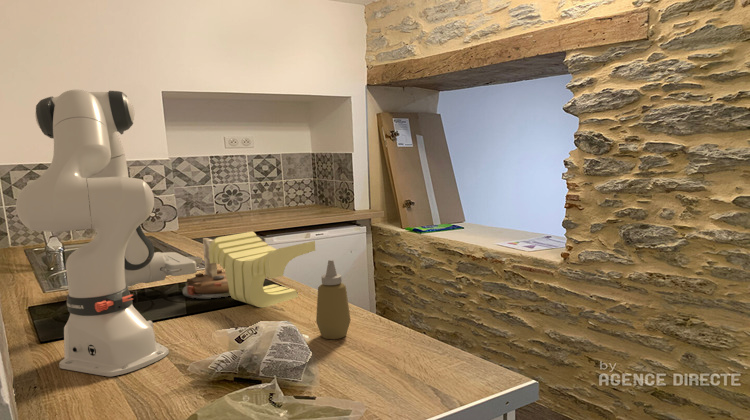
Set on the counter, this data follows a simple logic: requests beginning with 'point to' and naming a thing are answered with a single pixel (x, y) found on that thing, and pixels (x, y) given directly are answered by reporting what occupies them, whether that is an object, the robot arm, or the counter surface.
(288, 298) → the slatted curved stool
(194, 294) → the base plate
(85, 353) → the robot arm
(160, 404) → the counter surface
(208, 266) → the brown piece
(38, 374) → the counter surface
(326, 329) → the squeeze bottle
